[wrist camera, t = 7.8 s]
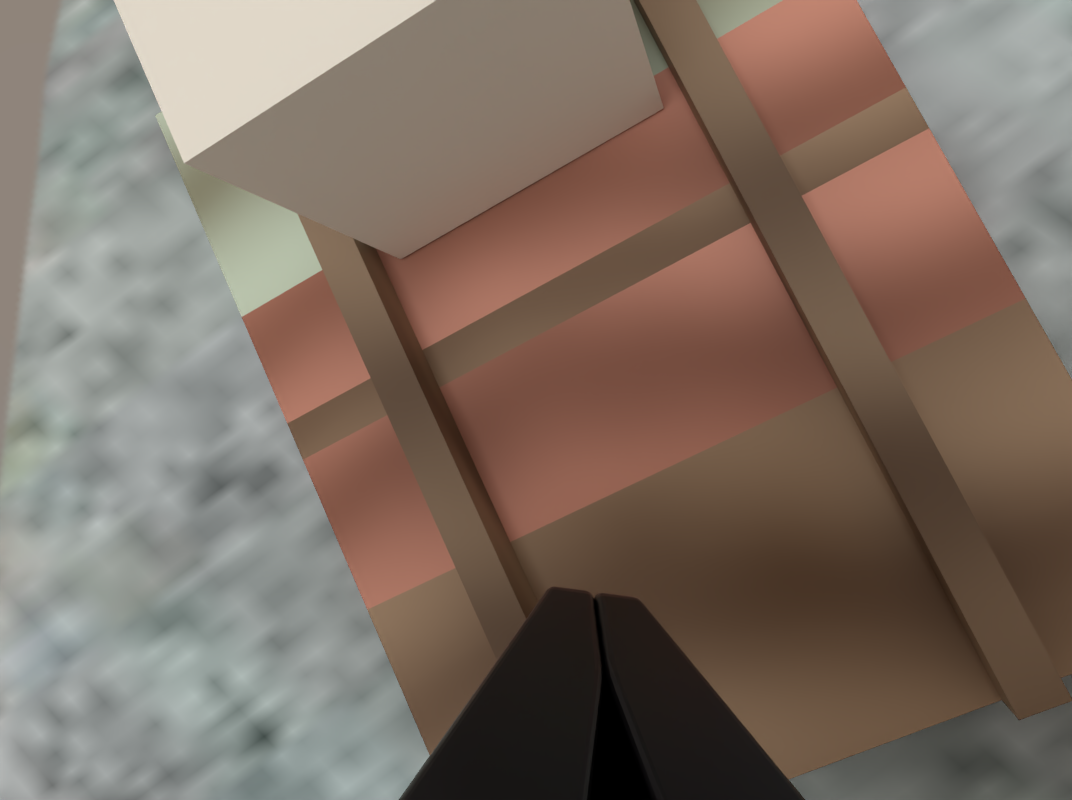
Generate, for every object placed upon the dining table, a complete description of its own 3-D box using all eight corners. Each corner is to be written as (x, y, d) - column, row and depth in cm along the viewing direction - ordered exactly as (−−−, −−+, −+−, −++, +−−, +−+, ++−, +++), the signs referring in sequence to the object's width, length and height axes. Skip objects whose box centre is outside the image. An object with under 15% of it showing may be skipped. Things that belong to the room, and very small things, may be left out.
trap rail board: (1194, 615, 17) (1305, 666, 13) (495, 877, 20) (441, 972, 17) (712, -236, 20) (701, -377, 16) (170, 123, 23) (65, 70, 20)
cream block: (663, 108, 19) (596, -104, 11) (400, 259, 21) (184, 163, 13) (567, -77, 20) (441, -397, 12) (319, 82, 21) (66, -110, 14)
